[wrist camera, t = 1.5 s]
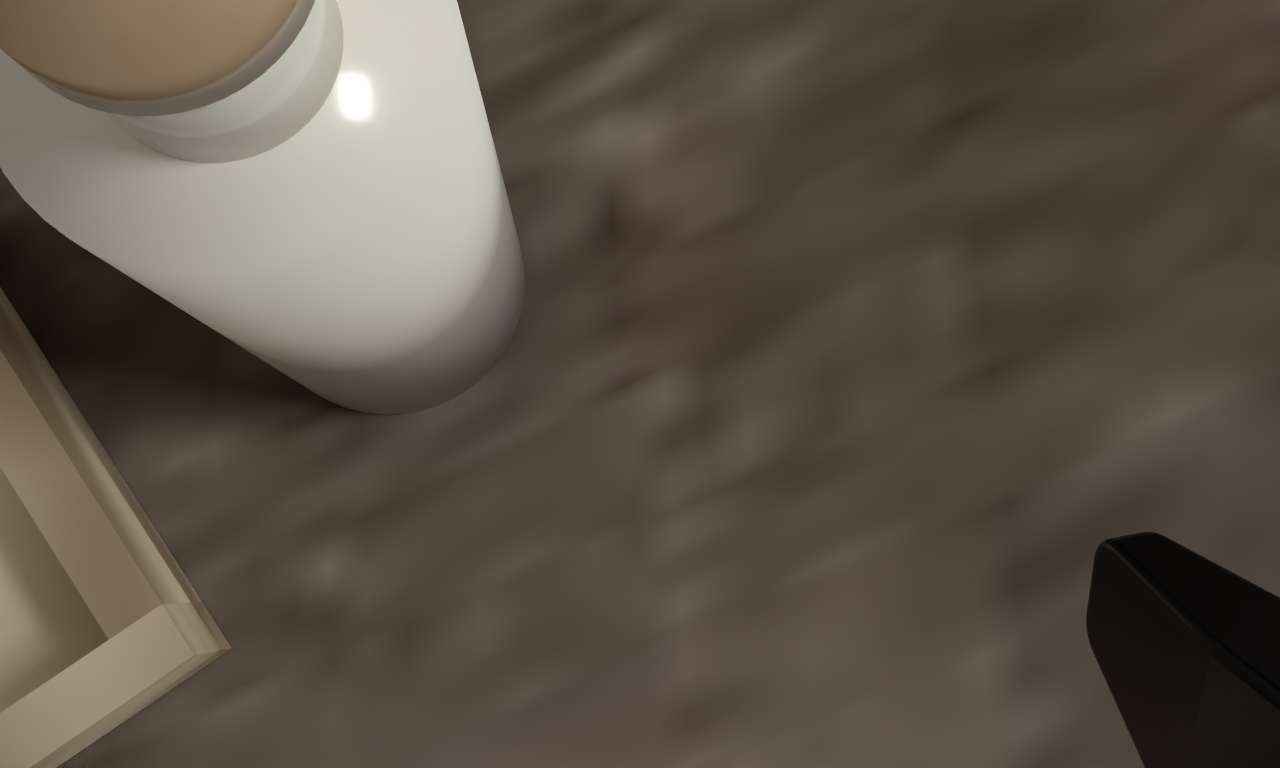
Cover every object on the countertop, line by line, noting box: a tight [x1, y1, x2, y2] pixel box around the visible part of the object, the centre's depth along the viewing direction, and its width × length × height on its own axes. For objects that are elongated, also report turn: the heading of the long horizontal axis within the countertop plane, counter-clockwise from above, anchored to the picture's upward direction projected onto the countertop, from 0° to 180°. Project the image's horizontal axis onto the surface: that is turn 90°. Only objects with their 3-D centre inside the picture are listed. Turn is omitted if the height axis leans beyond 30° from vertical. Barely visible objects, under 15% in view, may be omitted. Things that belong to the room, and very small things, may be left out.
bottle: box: [0, 0, 525, 415], centre depth 17 cm, size 5×5×13 cm
